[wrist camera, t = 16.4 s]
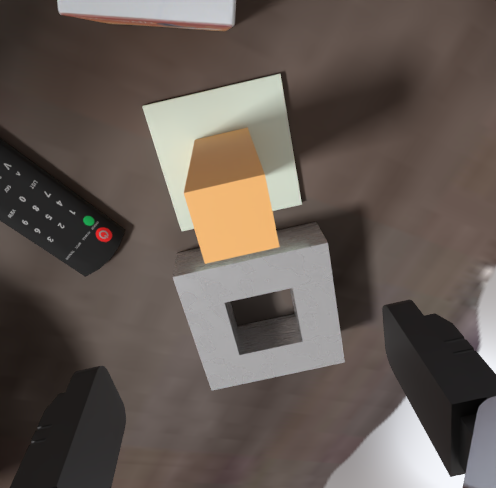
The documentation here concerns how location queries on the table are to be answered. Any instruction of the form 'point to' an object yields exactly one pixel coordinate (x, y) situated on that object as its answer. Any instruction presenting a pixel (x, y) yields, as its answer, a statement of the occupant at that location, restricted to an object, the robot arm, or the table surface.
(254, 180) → the key peg
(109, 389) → the robot arm
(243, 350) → the socket block
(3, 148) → the remote control
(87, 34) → the table surface
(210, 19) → the small box
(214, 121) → the mat
